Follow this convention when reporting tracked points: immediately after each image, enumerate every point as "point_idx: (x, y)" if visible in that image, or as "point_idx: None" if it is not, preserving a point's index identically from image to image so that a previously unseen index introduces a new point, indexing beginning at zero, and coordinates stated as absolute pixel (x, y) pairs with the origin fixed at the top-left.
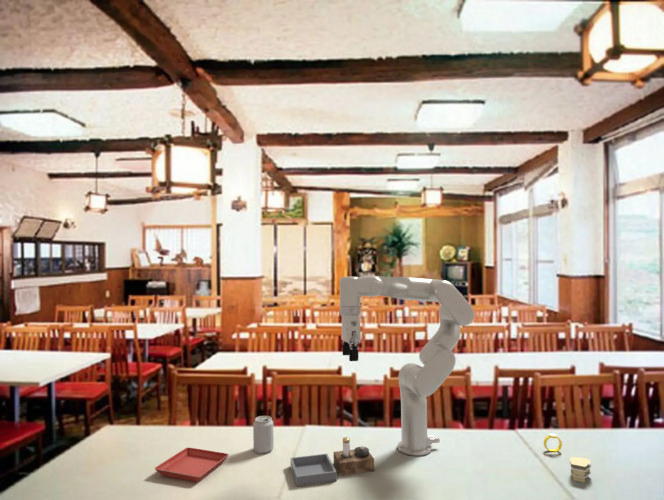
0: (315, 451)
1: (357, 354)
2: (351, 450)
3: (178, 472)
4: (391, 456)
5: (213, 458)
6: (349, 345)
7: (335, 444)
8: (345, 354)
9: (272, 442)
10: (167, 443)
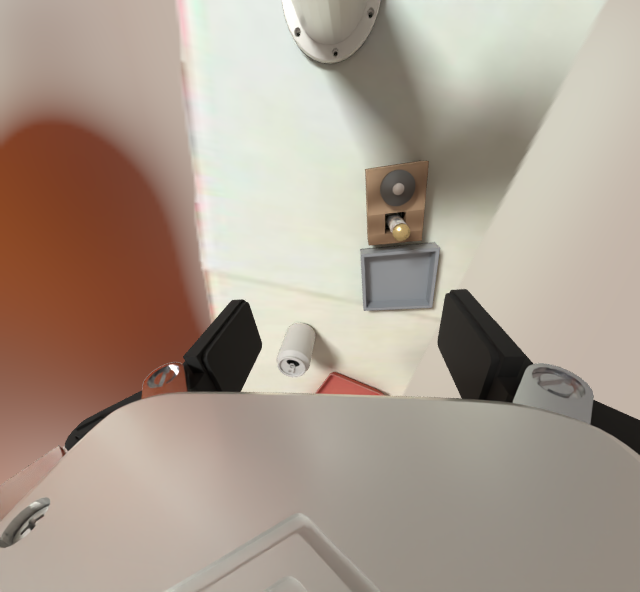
0: (314, 263)
1: (490, 326)
2: (371, 207)
3: None
4: (363, 96)
5: (326, 381)
6: (215, 363)
7: (288, 224)
8: (258, 337)
9: (304, 330)
10: None
